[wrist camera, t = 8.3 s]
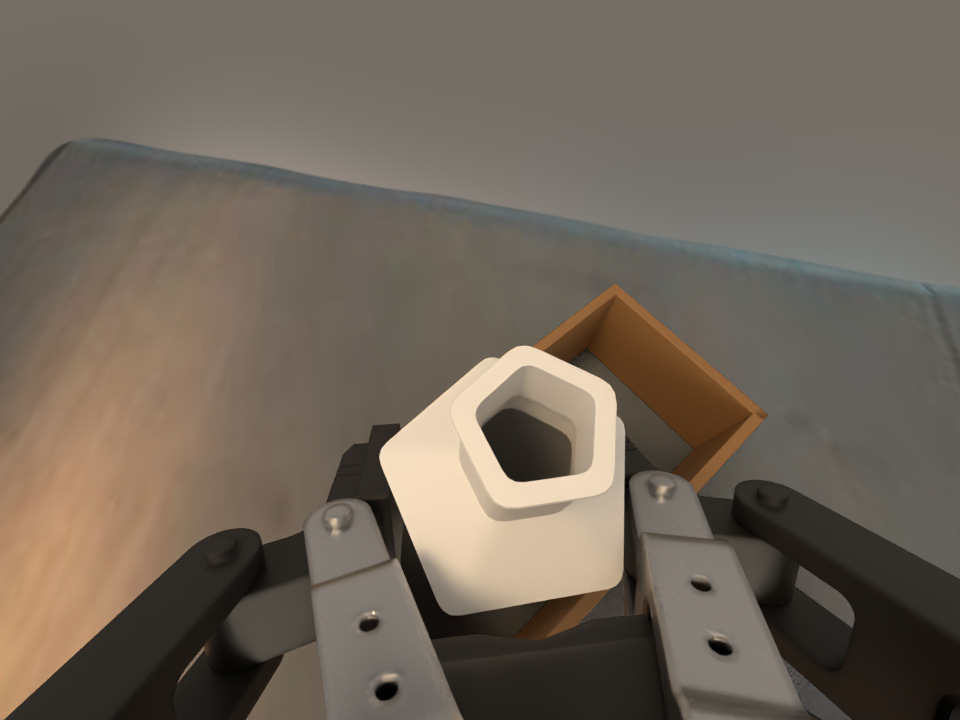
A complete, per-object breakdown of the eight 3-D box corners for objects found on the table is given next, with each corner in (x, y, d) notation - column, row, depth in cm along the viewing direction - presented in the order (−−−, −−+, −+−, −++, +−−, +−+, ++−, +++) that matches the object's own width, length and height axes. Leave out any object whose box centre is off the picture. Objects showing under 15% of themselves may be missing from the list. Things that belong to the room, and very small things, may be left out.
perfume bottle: (553, 573, 19) (810, 506, 5) (456, 629, 18) (478, 721, 4) (501, 471, 20) (597, 235, 7) (409, 517, 19) (323, 336, 6)
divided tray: (586, 338, 28) (615, 282, 23) (706, 450, 25) (769, 414, 20) (336, 538, 22) (303, 521, 17) (456, 715, 19) (458, 756, 14)
